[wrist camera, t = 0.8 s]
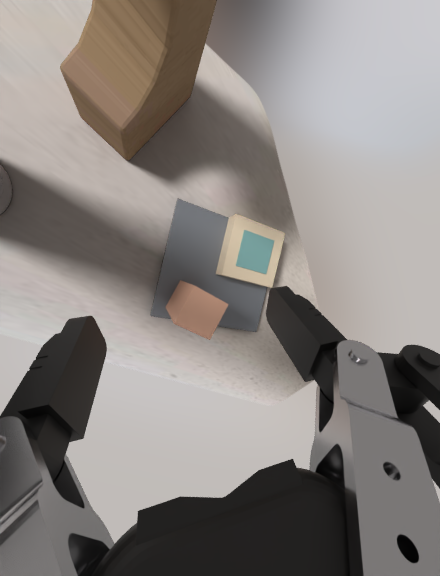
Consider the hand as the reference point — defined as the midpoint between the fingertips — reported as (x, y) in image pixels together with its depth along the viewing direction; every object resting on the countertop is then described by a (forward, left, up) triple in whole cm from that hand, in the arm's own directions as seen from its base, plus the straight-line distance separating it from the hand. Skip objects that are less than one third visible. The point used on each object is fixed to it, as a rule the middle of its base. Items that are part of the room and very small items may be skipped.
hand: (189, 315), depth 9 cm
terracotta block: (+5, -2, -24) cm, 24 cm away
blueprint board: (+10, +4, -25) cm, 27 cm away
